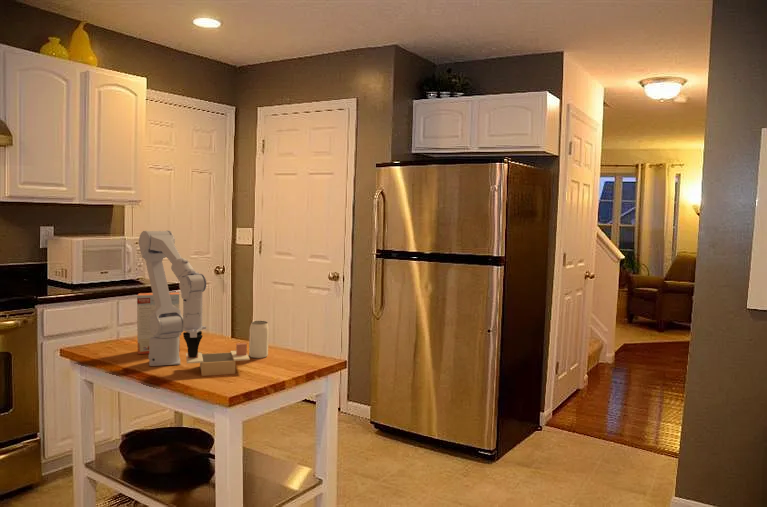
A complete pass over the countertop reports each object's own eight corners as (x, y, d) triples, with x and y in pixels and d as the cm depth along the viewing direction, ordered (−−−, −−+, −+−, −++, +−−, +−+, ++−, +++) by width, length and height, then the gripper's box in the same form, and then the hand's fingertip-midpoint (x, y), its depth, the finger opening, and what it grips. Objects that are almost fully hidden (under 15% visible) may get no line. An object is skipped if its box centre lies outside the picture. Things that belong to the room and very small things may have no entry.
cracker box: (179, 348, 220) (179, 291, 219) (179, 352, 215) (179, 293, 213) (138, 350, 216) (138, 292, 215) (137, 354, 210) (136, 294, 209)
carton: (201, 375, 186) (201, 362, 185) (200, 366, 197) (200, 353, 197) (235, 373, 189) (235, 361, 189) (231, 364, 200) (231, 352, 200)
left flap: (186, 363, 184) (186, 350, 184) (186, 354, 195) (186, 342, 195) (203, 362, 186) (203, 349, 186) (201, 353, 197) (201, 341, 196)
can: (251, 353, 215) (252, 320, 214) (269, 354, 215) (270, 321, 214) (246, 358, 209) (247, 323, 208) (265, 359, 209) (266, 324, 208)
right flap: (233, 360, 189) (234, 348, 189) (230, 352, 200) (230, 340, 199) (249, 359, 190) (249, 347, 190) (245, 351, 201) (245, 339, 201)
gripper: (207, 316, 184) (207, 360, 185) (204, 308, 197) (204, 350, 198) (182, 317, 181) (182, 362, 182) (182, 309, 195) (182, 351, 196)
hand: (192, 355), depth 190 cm, fingers closed on left flap, 2 cm apart
